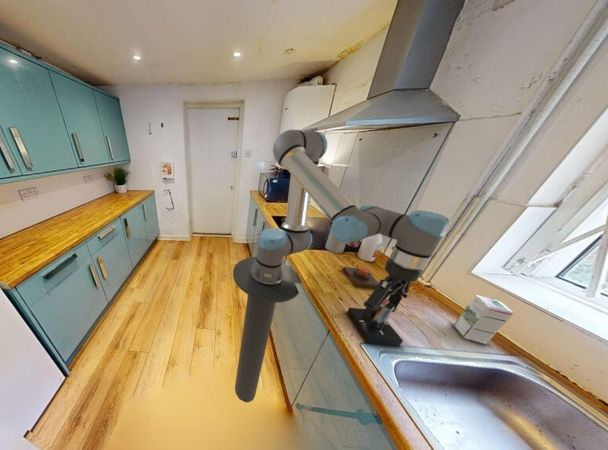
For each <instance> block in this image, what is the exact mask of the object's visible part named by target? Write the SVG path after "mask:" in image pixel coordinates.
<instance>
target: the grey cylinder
mask: <svg viewBox="0 0 608 450" xmlns="http://www.w3.org/2000/svg"><path fill="white" fill-rule="evenodd" d="M346 245H347V244H346V242H342V241H340V240H338V239H337V238H335V236H334V235H333V232H332V229H331V228H330V231H329V234H328V237H327V240H326V243H325V245H324V248H325V249H326V250H328V251H329V252H332V253H336V254H342V253H343V252H344V251H345V247H346Z"/></svg>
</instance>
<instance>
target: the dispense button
mask: <svg viewBox="0 0 608 450" xmlns="http://www.w3.org/2000/svg"><path fill="white" fill-rule="evenodd" d="M358 268H359V269H358V271H357V272H358V273H359V274H361V275H364V276H367V275H368V273H369V272H370V269H368V268H366V267H363V266H359V267H358Z"/></svg>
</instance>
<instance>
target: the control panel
mask: <svg viewBox="0 0 608 450" xmlns="http://www.w3.org/2000/svg"><path fill="white" fill-rule="evenodd" d="M365 309H366V308H358V307H348V309H347V312H346V314H347V316H348V317H349V319H350V320H351V322H352V324H353V325H354V327H355V328H356V330H357V331H358V333H359V335H360V336H361V338H362V339H363V341H364V342H365V344H370V345H378V346H387V347H388V346H389V347H397V348H400V347H401V345H402V343H403V342H404V340H403V339H402V337H401V336H400V335H399V333H398V332H397V331H396V330H395V329H394V328H393V327H392V326H391V324H390V323H389V322H388V320H387V321H386V323H385V325H384V327H383V328H382V329H377V328H374V327H372V326H369V325H368V324H366V323H365V322H364V321H362V320H361V317H362V315H363V313H364V311H365Z"/></svg>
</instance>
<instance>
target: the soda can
mask: <svg viewBox="0 0 608 450" xmlns="http://www.w3.org/2000/svg"><path fill="white" fill-rule="evenodd" d="M360 242H361V240H359V241H355V242H346V245H347V246H348V247H351V248H358V247H359V244H360Z"/></svg>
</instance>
